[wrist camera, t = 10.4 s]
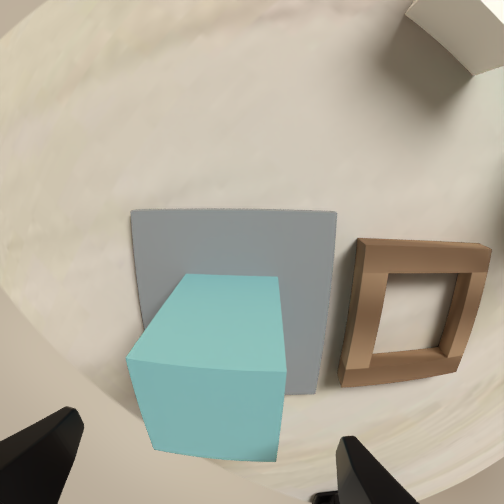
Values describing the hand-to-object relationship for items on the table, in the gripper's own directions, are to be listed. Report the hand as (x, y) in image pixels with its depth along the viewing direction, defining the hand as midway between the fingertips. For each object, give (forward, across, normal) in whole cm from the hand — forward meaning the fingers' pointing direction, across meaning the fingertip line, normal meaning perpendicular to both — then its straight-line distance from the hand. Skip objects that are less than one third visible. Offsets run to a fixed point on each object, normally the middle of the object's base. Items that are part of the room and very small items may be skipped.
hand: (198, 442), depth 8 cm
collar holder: (+10, -12, 0) cm, 15 cm away
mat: (+10, 0, 0) cm, 10 cm away
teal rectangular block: (+9, 0, 0) cm, 9 cm away
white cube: (+10, -15, -20) cm, 27 cm away
